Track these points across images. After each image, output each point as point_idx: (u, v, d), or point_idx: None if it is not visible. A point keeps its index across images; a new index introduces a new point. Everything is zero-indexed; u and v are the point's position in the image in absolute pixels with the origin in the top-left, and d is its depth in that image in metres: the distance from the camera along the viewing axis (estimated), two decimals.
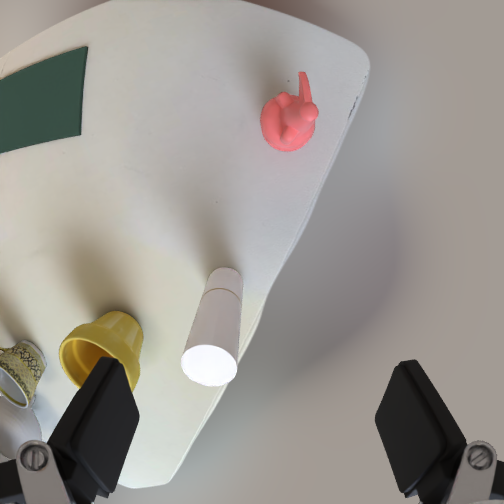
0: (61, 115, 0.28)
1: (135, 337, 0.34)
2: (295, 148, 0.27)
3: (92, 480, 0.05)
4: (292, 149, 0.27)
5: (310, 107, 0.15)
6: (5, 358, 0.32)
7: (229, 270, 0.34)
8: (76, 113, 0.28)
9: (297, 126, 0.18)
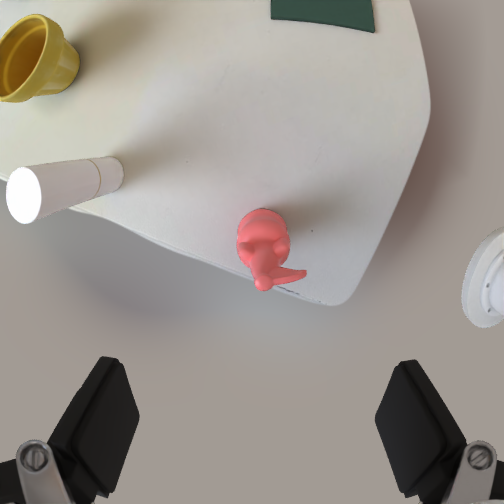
0: None
1: (52, 89, 0.24)
2: None
3: (91, 480, 0.05)
4: None
5: (267, 284, 0.18)
6: None
7: (120, 179, 0.30)
8: (296, 15, 0.24)
9: (252, 265, 0.20)
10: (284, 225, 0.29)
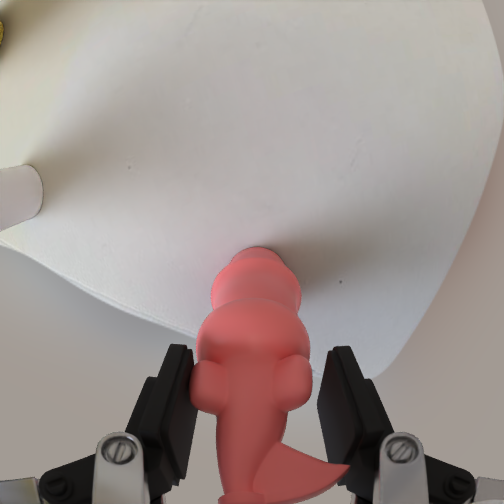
0: None
1: None
2: None
3: (170, 467, 0.06)
4: (214, 309, 0.16)
5: None
6: None
7: (37, 199, 0.17)
8: None
9: (218, 440, 0.07)
10: (296, 286, 0.15)
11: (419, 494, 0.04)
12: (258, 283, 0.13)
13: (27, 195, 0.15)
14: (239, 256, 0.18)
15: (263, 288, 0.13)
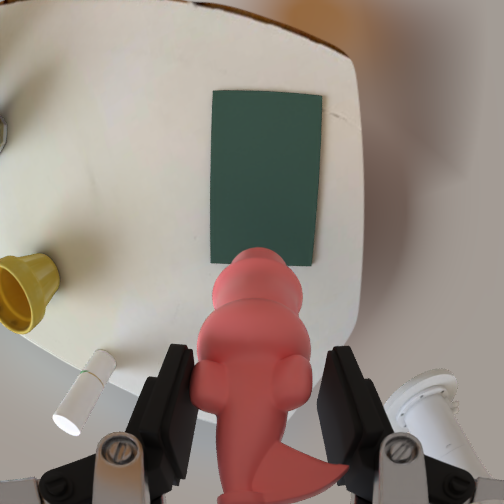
0: (236, 240, 0.34)
1: None
2: None
3: (171, 467, 0.06)
4: (215, 309, 0.16)
5: None
6: None
7: (114, 367, 0.41)
8: None
9: (218, 439, 0.07)
10: (297, 287, 0.15)
11: (419, 494, 0.04)
12: (259, 284, 0.13)
13: (111, 369, 0.40)
14: (241, 256, 0.18)
15: (264, 288, 0.13)
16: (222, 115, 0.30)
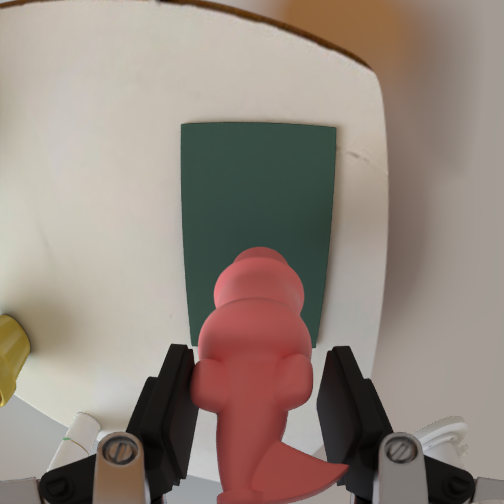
0: None
1: None
2: None
3: (171, 467, 0.06)
4: None
5: None
6: None
7: (99, 430, 0.33)
8: None
9: (218, 438, 0.07)
10: (299, 286, 0.15)
11: (418, 494, 0.04)
12: (261, 283, 0.13)
13: (96, 434, 0.32)
14: (242, 256, 0.18)
15: (266, 288, 0.13)
16: (195, 160, 0.22)
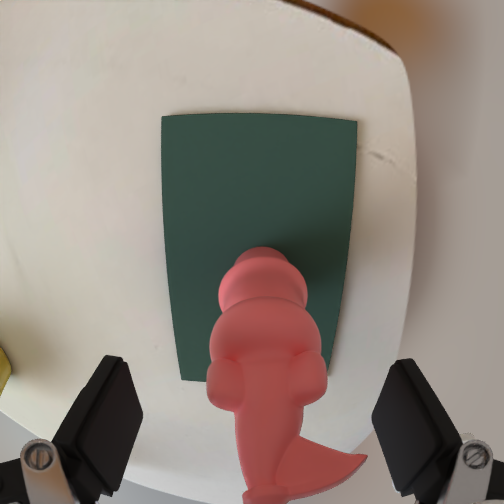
0: None
1: None
2: None
3: (96, 479, 0.05)
4: (222, 308, 0.16)
5: None
6: None
7: None
8: None
9: (238, 436, 0.07)
10: (303, 285, 0.16)
11: (477, 500, 0.03)
12: (268, 282, 0.13)
13: None
14: (245, 255, 0.18)
15: (273, 287, 0.13)
16: (179, 162, 0.17)
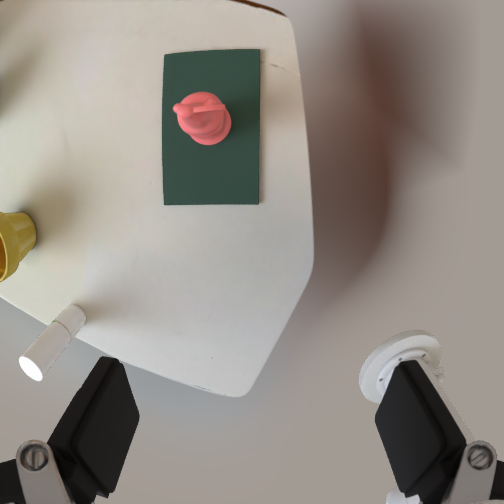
0: (185, 181, 0.35)
1: (22, 258, 0.36)
2: None
3: (91, 480, 0.05)
4: None
5: (187, 110, 0.19)
6: None
7: (84, 321, 0.42)
8: (184, 201, 0.36)
9: None
10: (227, 113, 0.29)
11: (481, 501, 0.03)
12: None
13: (80, 322, 0.41)
14: None
15: None
16: (172, 73, 0.31)
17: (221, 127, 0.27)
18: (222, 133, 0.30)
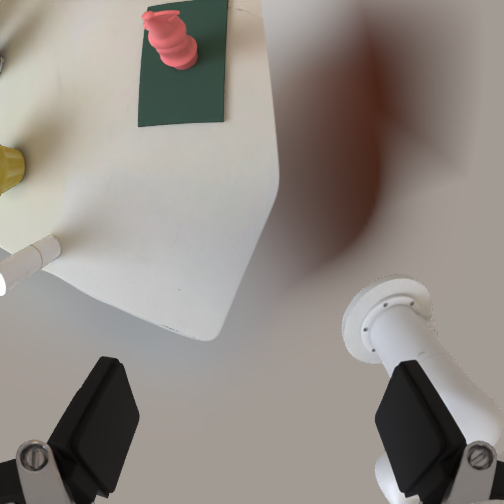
0: (158, 104, 0.35)
1: (8, 188, 0.36)
2: (161, 56, 0.30)
3: (91, 480, 0.05)
4: (160, 54, 0.30)
5: (149, 14, 0.19)
6: None
7: (58, 251, 0.42)
8: (156, 121, 0.36)
9: None
10: (194, 40, 0.29)
11: (481, 501, 0.03)
12: None
13: (54, 251, 0.41)
14: None
15: None
16: None
17: (184, 44, 0.26)
18: (188, 55, 0.29)
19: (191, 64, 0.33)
